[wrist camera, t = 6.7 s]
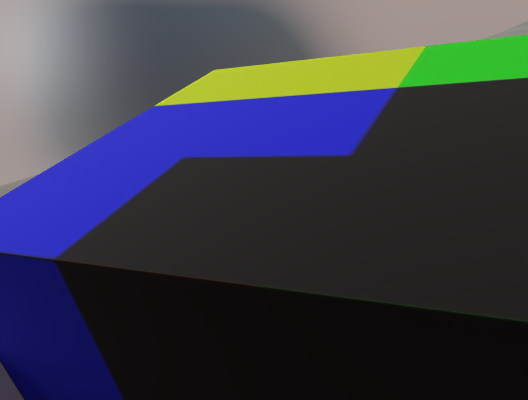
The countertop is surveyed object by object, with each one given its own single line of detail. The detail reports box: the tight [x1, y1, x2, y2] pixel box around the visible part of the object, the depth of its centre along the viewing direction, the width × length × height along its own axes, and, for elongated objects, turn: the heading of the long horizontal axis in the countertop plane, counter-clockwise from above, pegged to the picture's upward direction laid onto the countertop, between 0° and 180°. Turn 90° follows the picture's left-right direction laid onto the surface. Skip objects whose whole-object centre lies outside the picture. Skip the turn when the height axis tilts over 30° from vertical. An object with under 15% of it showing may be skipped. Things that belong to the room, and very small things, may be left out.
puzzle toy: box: [0, 35, 528, 400], centre depth 12 cm, size 10×10×10 cm
